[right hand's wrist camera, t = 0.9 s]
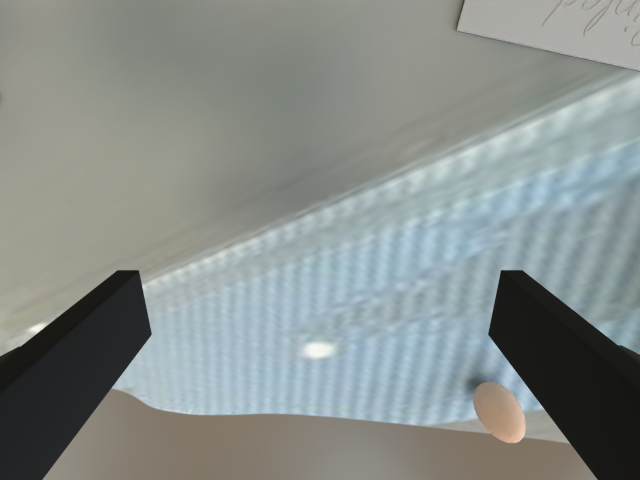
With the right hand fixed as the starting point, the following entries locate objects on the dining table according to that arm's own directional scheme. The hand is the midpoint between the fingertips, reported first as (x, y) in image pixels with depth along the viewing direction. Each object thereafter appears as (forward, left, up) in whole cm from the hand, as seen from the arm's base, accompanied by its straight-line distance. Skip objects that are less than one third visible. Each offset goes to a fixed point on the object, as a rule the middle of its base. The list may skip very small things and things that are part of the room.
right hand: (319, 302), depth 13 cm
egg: (+26, +26, -27) cm, 45 cm away
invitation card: (-22, +23, -27) cm, 41 cm away
